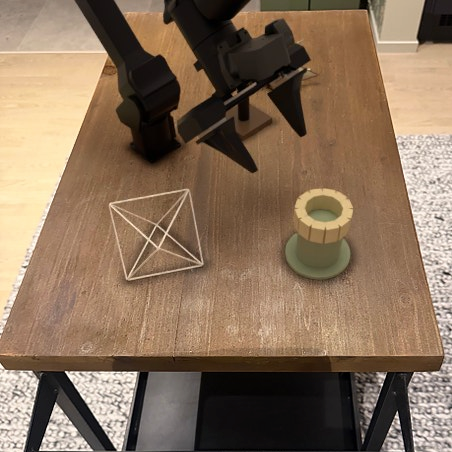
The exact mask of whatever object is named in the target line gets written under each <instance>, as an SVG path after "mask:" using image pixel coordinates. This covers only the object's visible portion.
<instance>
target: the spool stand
mask: <svg viewBox="0 0 452 452" xmlns="http://www.w3.org/2000/svg"><path fill="white" fill-rule="evenodd" d="M307 215H308V216H310V217H311V218H312V219H314V220H315V221H320V222H330V221H335V220H336V219H337V218H338V216H337V215H336V214H334V213H333V212H331V211H329V210H324V209H318V210H313V211H311V212H310V213H308V214H307ZM284 255H285V261H286V263H287V265H288V266H289V267H290V268H291V270H293V272H295V273H297V275H300V276H302V277H304V278H307V279H309V280H317V281H318V280H319V281H321V280H329V279H332V278H335V277H337V276H338V275H340V274H342V273H343V272H344V271H345V270H346V269H347V267H348V265H349V263H350V259H351V248H350V246H349V244H348V242H347V241H346V239H345V238H344V237H343V238H341V239H340V240H338V239H337V241H336V242H331V243H326V244H325V243H324V241H323V243H322V244H321V243H317V242H312V241H310V239H308V240H307V239H305V238H304V237H302V236H301V235H300V234H298V232H297V231H296V232H295V233H294V234H293V235H292V236H291V237H290V238H289V239H288V241H287V242H286V245H285V251H284Z"/></svg>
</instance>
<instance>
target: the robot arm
mask: <svg viewBox="0 0 452 452" xmlns="http://www.w3.org/2000/svg"><path fill="white" fill-rule="evenodd" d="M251 1H252V0H163V4H164V8H163V13H162V22H163V24H164V25H166V26H167V25H169V24H171V23H174V24H175V26H176V27H177V28H178V31H179V32H180V33H181V35H182V37H183V39H184V41H185V42H186V43H187V45H188V47H189V49H190V50H191V52H192V54H193V55H194V57H195V59H196V61H195V62H194V63H192V66H193V67H194V69H195V71H196V72H197V73H199V72H200V71H202V70H203V71H204V74H205V76H206V77H207V79H208V81H209V82H210V84H211V86H212V88H213V89H214V90H215V91H214V92H213V93H211V96H210V97H208V98H206V99H205V100H203V101H202V102H200V103H198V104H197V105H195V106H193V107H192V108H191V109H189V110H188V111H187V112H186V113H185V114H184V115H182V116H181V117H180V118H178V119H177V120H176V125H175V118H174V116H173V115H172V112H174V111H177V110H178V109H179V104H180V100H181V92H182V88H181V85H180V82H179V80H178V77H177V75H176V74H175V73H174V72H173V70H172V69H171V68H170V65H169V63H168V62H167V60H166V57H164V56H163V55H162V54H161V53H158V54H156V55H153V54H151V53H150V52H148V51H147V50H145V49H144V47H143V45H142V44H141V42H140V41H139V39H138V37H137V36H136V34H135V32H134V30H133V29H132V27H131V26H130V24H129V22H128V21H127V19H126V16H125V15H124V14H123V12H122V10H121V9H120V7H119V5H118V4H117V2H116V0H74V2H75V3H76V5H77V8H78V9H79V11H80V12H81V13H82V16H83V17H84V18H85V20H86V21H87V23H88V25H89V27H90V28H91V30H92V31H93V33H94V34H95V36H96V38H97V39H98V41H99V43H100V44H101V46H102V48H103V49H104V50H105V52H106V53H107V55H108V57H109V59H110V60H111V61H112V63H113V65H114V66H115V69H116V73H117V89H118V93H119V95H120V97H121V99H122V102H120V104H119V105H118V106H117V107H116V108H115V113H116V115H117V118H118V120H119V122H120V123H121V124H122V125H124V126H125V127H127V128H129V129H130V134H131V137H132V141H130V143H129V147H130V148H131V149H132V150H133V151H135V152H136V153H137V154H138V155H139V156H141V157H142V158H143V159H145V160H146V161H147V162H148V163H150V164H154V163H156V162H157V161H159V160H161V159H162V158H164V157H166V156H167V155H169V154H171V153H173V152H174V151H176V150H177V149H179V148H181V147H182V144H181V142H180V141H179V140H178V139H176V138H177V133H178V135H179V136H180V138H181V139H182V141H183V143H184V144H187V143H189V142H191V141H192V140H194V139H195V138H196V137H197V138H198V139H197V140H195V144H196V145H197V146H198V145H200V144H202V143H203V144H205V145H207V147H208V146H209V147H211V148H212V149H214V150H215V151H218V152H220V153H221V154H223V155H224V156H226V157H227V158H229V159H230V160H232V161H233V162H235V163H236V164H237V165H238V166H240V167H242V168H243V169H245V170H246V171H247V172H249V173H250V174H255V173H257V172H258V171H259V168H258V166H257V165H256V162H255V160H254V159H253V157H252V155H251V153H250V152H249V150H248V149H247V147H246V146H245V144H244V142H243V140H241V139H240V137H239V136H238V134H237V132H236V127H235V120H234V116H233V117H231V118H230V119H228V120H227V119H226V118H225V117H226V112H227V111H229V110H230V109H232V108H234V107H235V106H237V105H238V104H239V103H241V102H242V101H244V100H245V99H247V98H248V97H249V98H251V97H252V96H253V95H254V94H256V93H258V92H259V91H260V90H262V89H263V88H265V87H267V88H271V90H270V91H268V92H267V93H266V95H267V96H268V98H269V99H270V100H271V102H272V103H273V105H274V106H275V108H276V109H277V110H278V111H279V113H280V114H281V116H282V117H283V118H284V119H285V121H286V122H287V123H288V125H289V126H290V128H291V129H292V130H293V131H294V132H295V133H296V135H298V137H299V138H303V137H305V136H306V135H307V134H308V132H307V126H306V121H305V120H306V119H305V115H304V110H303V104H302V97H301V95H302V94H301V86H302V82H303V81H302V78H303V75H304V74H305V73H306V72H307V69H308V68H307V67H304V65H306V64H308V63H309V62H311V61H312V59H311V57H310V55H309V52H308V51H307V50H306V47H305V46H304V45H301V44H300V43H299V44H300V45H299V44H297V43H296V40H295V37H294V33H293V30H292V29H291V27H290V26H289V24H288V23H287V22H286V20H285V18H278V19H277V18H276V19H274V20H273V21H271V22H269V23H268V24H266V25H265V26H264V33H262V34H261V35H259V36H257V37H252V35H251V34H250V32H249V31H248V29H246V28H245V26H242V27H240V28H239V29H237V27H236V25H235V24H234V22H233V19H234V18H235V17H236V16H237V15H238V14H239V13H240V12H241V11H243V9H244V8H245V7H246V6H247V5H248V4H249V3H250V2H251ZM302 66H303V67H304V68H305V69H303V70H302V71H299V68H300V67H302ZM250 83H252V84H250ZM247 84H249V87H247V86H246V85H247ZM237 90H238V92H239V93H238V94H237V93H236V94H235V95H233V94H234V93H235V92H237ZM176 128H177V129H176ZM176 130H177V131H176Z"/></svg>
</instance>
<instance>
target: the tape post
mask: <svg viewBox="0 0 452 452" xmlns="http://www.w3.org/2000/svg"><path fill="white" fill-rule="evenodd" d="M246 86H247V87H249V86H250V83H249V84H247V85H246ZM238 93H239V92H238V90H237V89H236V94H238ZM233 116H234V120H235V127H236V132H237V134H238V136H239V137H240V139H241V140H242V141H245V140H246V139H248V138H250V137H251V136H253V135H255V134H256V133H257V132H259V131H261V130H263V129H264V128H265V127H267V126H269V125H270V124H272V123H273V117H272V116H271V115H269V114H268V113H265V112H264V111H262V110H261V109H259V108H258V107H256V106H254V105H252V104H251V103H250V97H248V98H247V99H245V100H244V101H242V102H241V103H239V104H238V105H236V106H235V107H233V108H232V109H230V110H229V111H227V112H226V117H225V118H226V119H227V120H228V119H230V118H231V117H233Z"/></svg>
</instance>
